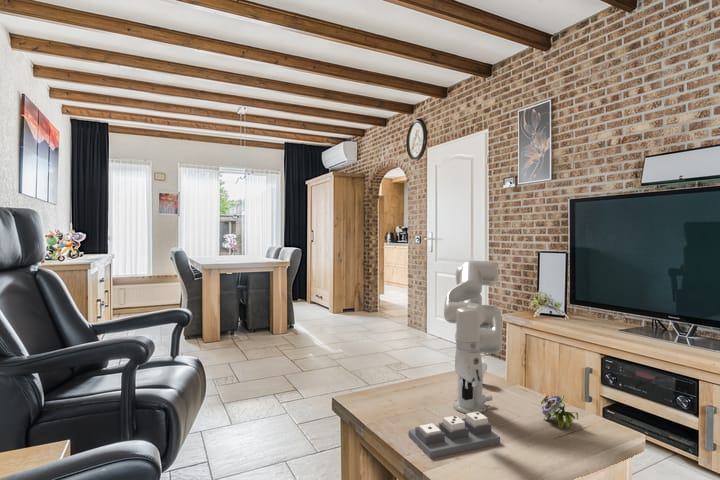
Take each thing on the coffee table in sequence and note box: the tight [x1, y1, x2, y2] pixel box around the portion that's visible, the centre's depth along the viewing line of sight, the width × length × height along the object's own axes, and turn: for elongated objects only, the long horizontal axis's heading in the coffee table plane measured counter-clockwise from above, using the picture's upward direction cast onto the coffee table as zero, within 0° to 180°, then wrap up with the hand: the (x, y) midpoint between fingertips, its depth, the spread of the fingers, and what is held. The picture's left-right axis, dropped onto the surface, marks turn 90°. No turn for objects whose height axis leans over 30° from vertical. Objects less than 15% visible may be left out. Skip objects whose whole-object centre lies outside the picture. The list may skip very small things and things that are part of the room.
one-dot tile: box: [418, 422, 441, 436], centre depth 127 cm, size 5×5×3 cm
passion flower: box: [540, 394, 579, 430], centre depth 143 cm, size 11×11×12 cm
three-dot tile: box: [442, 415, 465, 431], centre depth 130 cm, size 5×5×3 cm
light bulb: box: [482, 359, 488, 384], centre depth 180 cm, size 7×7×11 cm
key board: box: [408, 417, 501, 459], centre depth 130 cm, size 26×14×4 cm, turn 110°
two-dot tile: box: [465, 412, 489, 427], centre depth 133 cm, size 5×5×3 cm
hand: (467, 398), depth 132 cm, fingers closed
